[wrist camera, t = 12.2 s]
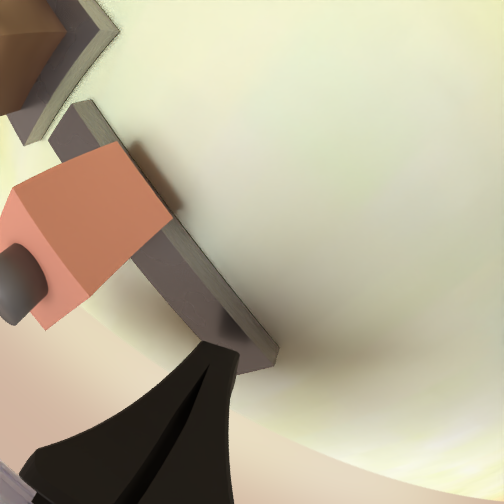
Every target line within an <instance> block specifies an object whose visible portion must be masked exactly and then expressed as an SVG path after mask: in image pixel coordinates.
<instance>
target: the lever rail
mask: <svg viewBox="0 0 504 504" xmlns="http://www.w3.org/2000/svg"><path fill="white" fill-rule="evenodd" d="M48 141H49V143H50V145H51V146H52V148H53V149H54V151H55V153H56V154H57V156H58V157H59V159H60V160H61V162H62V163H64V162H66V161H68V160H70V159H73V158H75V157H77V156H80V155H82V154H85V153H87V152H89V151H92V150H94V149H97V148H100V147H102V146H105V145H107V144H110V143H113V142H115V141H117V142H118V143H119V144H120V146H121V147H122V149H123V150H124V152H125V153H126V154H127V156H128V157H129V159H130V160H131V161H132V163H133V164H134V165H135V167H136V168H137V170H138V171H139V172H140V174H141V175H142V176H143V178H144V179H145V181H146V182H147V183H148V185H149V186H150V187H151V189H152V190H153V191H154V193H155V194H156V196H157V197H158V198H159V200H160V201H161V202H162V204H163V205H164V206H165V208H166V209H167V210H168V212H169V213H170V214H171V216H172V217H173V219H172V220H170V221H169V222H168V223H167V224H166V225H165V226H164V227H163V228H162V229H160V230H159V231H158V232H157V233H156V234H155V235H154V236H153V237H152V238H151V239H149V240H148V241H147V242H146V243H145V244H144V245H143V246H142V247H141V248H140V249H139V250H138V251H137V252H135V253H134V254H133V255H132V256H131V257H130V258H131V259H132V260H133V261H134V263H135V264H136V265H137V266H138V268H139V269H140V270H141V271H142V273H143V274H144V275H145V276H146V277H147V279H148V280H149V281H150V282H151V284H152V285H153V286H154V287H155V288H156V289H157V291H158V292H159V293H160V294H161V295H162V297H163V298H164V299H165V300H166V301H167V302H168V304H169V305H170V306H171V307H172V308H173V309H174V310H175V312H176V313H177V314H178V315H179V316H180V317H181V318H182V319H183V321H184V322H185V323H186V324H187V325H188V326H189V327H190V328H191V329H192V331H193V332H194V333H195V334H196V335H197V336H198V337H199V338H200V339H201V340H202V341H206V342H209V343H212V344H215V345H219V346H222V347H225V348H228V349H231V350H234V351H237V352H238V353H239V354H240V357H239V363H238V368H237V374H236V375H239V374H244V373H248V372H252V371H256V370H261V369H265V368H269V367H272V366H274V365H275V362H276V358H277V355H278V351H279V347H278V345H277V344H276V343H275V342H274V341H273V339H272V338H271V337H270V336H269V335H268V333H267V332H266V331H265V330H264V329H263V327H262V326H261V325H260V324H259V322H258V321H257V320H256V319H255V318H254V316H253V315H252V314H251V313H250V311H249V310H248V309H247V308H246V307H245V305H244V304H243V303H242V302H241V300H240V299H239V298H238V297H237V295H236V294H235V293H234V292H233V290H232V289H231V288H230V287H229V285H228V284H227V283H226V282H225V280H224V279H223V278H222V276H221V275H220V274H219V273H218V271H217V270H216V269H215V268H214V266H213V265H212V264H211V262H210V261H209V260H208V259H207V257H206V256H205V255H204V253H203V252H202V251H201V250H200V248H199V247H198V246H197V244H196V243H195V242H194V241H193V239H192V238H191V237H190V235H189V234H188V233H187V231H186V230H185V229H184V227H183V226H182V225H181V224H180V222H179V221H178V220H177V218H176V217H175V216H174V214H173V213H172V212H171V210H170V209H169V208H168V206H167V205H166V204H165V202H164V201H163V200H162V198H161V197H160V196H159V194H158V193H157V191H156V190H155V189H154V187H153V186H152V185H151V183H150V182H149V181H148V179H147V178H146V177H145V175H144V174H143V172H142V171H141V170H140V168H139V167H138V166H137V164H136V163H135V161H134V160H133V159H132V157H131V156H130V154H129V153H128V152H127V150H126V149H125V147H124V146H123V145H122V143H121V142H120V140H119V139H118V138H117V136H116V135H115V133H114V132H113V130H112V129H111V128H110V126H109V125H108V123H107V122H106V120H105V119H104V118H103V116H102V115H101V113H100V112H99V110H98V109H97V107H96V106H95V104H94V103H93V102H92V100H86V101H81V102H76V103H72V104H71V105H70V107H69V108H68V110H67V111H66V113H65V114H64V116H63V117H62V119H61V120H60V122H59V123H58V125H57V126H56V128H55V130H54V131H53V133H52V134H51V136H50V138H49V139H48Z"/></svg>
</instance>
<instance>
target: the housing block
mask: <svg viewBox="0 0 504 504" xmlns="http://www.w3.org/2000/svg"><path fill="white" fill-rule="evenodd" d="M66 33H67V31H66V29H65V28H64V26H63V25H62V23H61V22H60V20H59V19H58V17H57V16H56V14H55V13H54V11H53V10H52V8H51V7H50V5H49V4H48V2H47V1H46V0H0V116H3V115H6V114H9V113H12V112H15V111H19V110H21V108H22V106H23V104H24V102H25V100H26V98H27V96H28V94H29V92H30V90H31V89H32V87H33V85H34V83H35V82H36V80H37V78H38V76H39V75H40V73H41V71H42V70H43V68H44V66H45V65H46V63H47V61H48V60H49V58H50V57H51V55H52V54H53V52H54V51H55V49H56V48H57V46H58V45H59V43H60V42H61V40H62V39H63V37H64V36H65V35H66Z"/></svg>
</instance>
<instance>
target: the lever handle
mask: <svg viewBox="0 0 504 504" xmlns="http://www.w3.org/2000/svg"><path fill="white" fill-rule="evenodd" d="M172 219H173V217H172V216H171V214H170V213H169V212H168V210H167V209H166V208H165V206H164V205H163V204H162V202H161V201H160V200H159V198H158V197H157V196H156V194H155V193H154V191H153V190H152V189H151V187H150V186H149V185H148V183H147V182H146V181H145V179H144V178H143V176H142V175H141V174H140V172H139V171H138V170H137V168H136V167H135V165H134V164H133V163H132V161H131V160H130V159H129V157H128V156H127V154H126V153H125V152H124V150H123V149H122V147H121V146H120V144H119V143H118V142H117V141H115V142H113V143H110V144H107V145H105V146H102V147H100V148H97V149H94V150H92V151H89V152H87V153H85V154H82V155H80V156H77V157H75V158H73V159H70V160H68V161H66V162H64V163H61V164H59V165H57V166H55V167H53V168H50V169H48V170H46V171H44V172H42V173H40V174H38V175H36V176H34V177H32V178H30V179H28V180H26V181H24V182H22V183H20V184H18V185H16V186H14V187H12V190H11V192H10V194H9V197H8V199H7V202H6V204H5V206H4V209H3V211H2V214H1V217H0V316H1V317H2V318H3V319H4V320H5V321H6V322H7V323H9V324H11V325H14V326H15V325H17V323H18V322H20V321H21V320H22V318H24V317H25V316H26V315H27V314H28V313H29V312H31V313H32V315H33V316H34V317H35V319H36V320H37V321H38V322H39V323H40V325H41V326H42V327H43V328H44V329H45V330H47V329H48V328H50V327H51V326H52V325H53V324H55V323H56V322H57V321H59V320H60V319H61V318H63V317H64V316H65V315H66V314H68V313H69V312H71V311H72V310H73V309H75V308H76V307H77V306H79V305H80V304H81V303H83V302H84V301H85V300H87V299H88V298H89V297H91V296H92V294H93V293H94V292H95V291H96V290H97V289H98V288H99V287H100V286H101V285H102V284H103V283H104V282H105V281H106V280H107V279H108V278H110V277H111V276H112V275H113V274H114V273H115V272H116V271H117V270H118V269H119V268H120V267H121V266H122V265H123V264H124V263H125V262H126V261H127V260H128V259H129V258H130V257H131V256H132V255H133V254H134V253H135V252H137V251H138V250H139V249H140V248H141V247H142V246H143V245H144V244H145V243H146V242H147V241H148V240H149V239H151V238H152V237H153V236H154V235H155V234H156V233H157V232H158V231H159V230H160V229H162V228H163V227H164V226H165V225H166V224H167V223H168V222H169V221H170V220H172Z"/></svg>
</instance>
